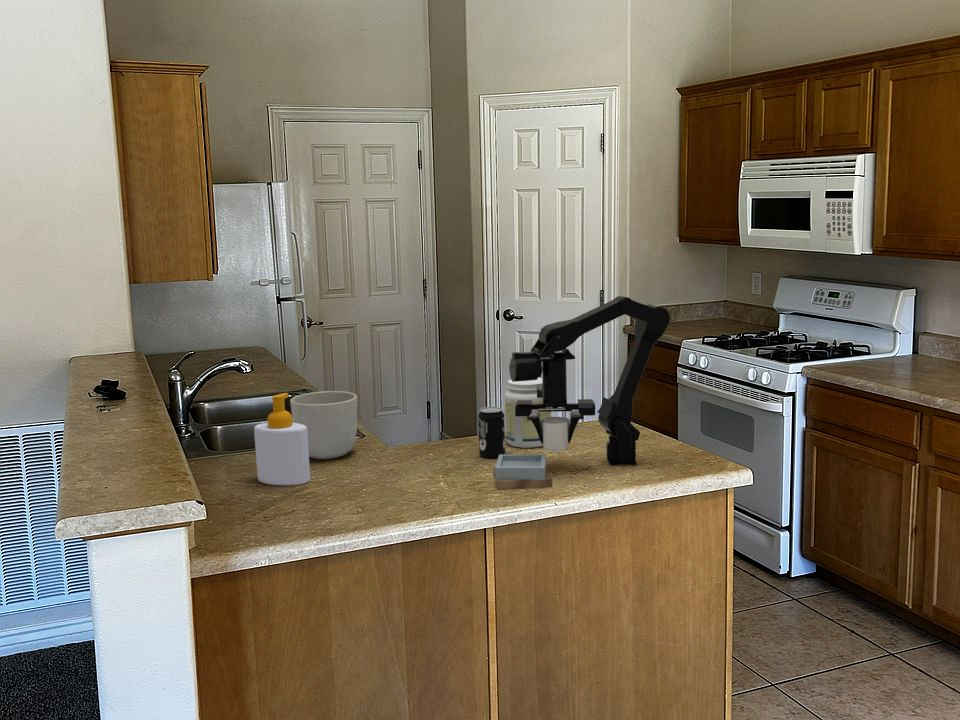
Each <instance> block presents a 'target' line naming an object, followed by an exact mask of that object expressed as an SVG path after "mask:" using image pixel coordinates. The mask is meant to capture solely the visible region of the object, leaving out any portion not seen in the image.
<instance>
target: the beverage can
mask: <svg viewBox="0 0 960 720" xmlns="http://www.w3.org/2000/svg"><path fill="white" fill-rule="evenodd" d="M503 411H504V409H503V408H502V407H498V406H486V407H482V408H480V409H479V413H478V417H477V419H478V447H479V448H478V453H479V455H480V456H481V457H482V458H483V459H484V458H485V459H498V457H499V455H506V454H505V453H506V424H505V412H503Z"/></svg>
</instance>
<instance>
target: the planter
mask: <svg viewBox="0 0 960 720" xmlns="http://www.w3.org/2000/svg"><path fill="white" fill-rule="evenodd" d="M289 401H290V409H291V416H292V423H298V424H303V425H305V426H306V427H307V436H308V452H309V459H310V458H311V459H316V460H331V459H336V458H341V457H343V456H345V455H346V454H348V453H349V452H350V451H351V450H352V449H353V448H354V445H355V442H356V439H357V433H358V432H357V424H358V395H357V394H356V393H355V392H349V391H341V390H337V391H336V390H327V391H326V390H325V391H324V390H323V391H315V392H308V393H302V394H299V395H296V396H295V395H294V397H291V398H290V400H289Z"/></svg>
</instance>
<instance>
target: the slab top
mask: <svg viewBox="0 0 960 720" xmlns="http://www.w3.org/2000/svg"><path fill="white" fill-rule="evenodd" d="M495 466H496V467H495V477H494V479H495V481H496V480H545V472H546V469H547V454H544V453H542V454H541V453H540V454H538V453H537V454H535V453H534V454H531V453H530V454H525V453H524V454H504V455H499V457H498V458H497V461H496V465H495Z"/></svg>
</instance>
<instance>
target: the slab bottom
mask: <svg viewBox="0 0 960 720" xmlns="http://www.w3.org/2000/svg"><path fill="white" fill-rule="evenodd" d="M495 467H496V465H494V466H493V476H494V478H495ZM495 483H496V486H497V489H498V490H517V489H518V490H519V489H532V488H533V489H536V488H552V487H553V480H552V477H551V475H550V473H549V470H548V469H547V468H546V472H545V480H495Z"/></svg>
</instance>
